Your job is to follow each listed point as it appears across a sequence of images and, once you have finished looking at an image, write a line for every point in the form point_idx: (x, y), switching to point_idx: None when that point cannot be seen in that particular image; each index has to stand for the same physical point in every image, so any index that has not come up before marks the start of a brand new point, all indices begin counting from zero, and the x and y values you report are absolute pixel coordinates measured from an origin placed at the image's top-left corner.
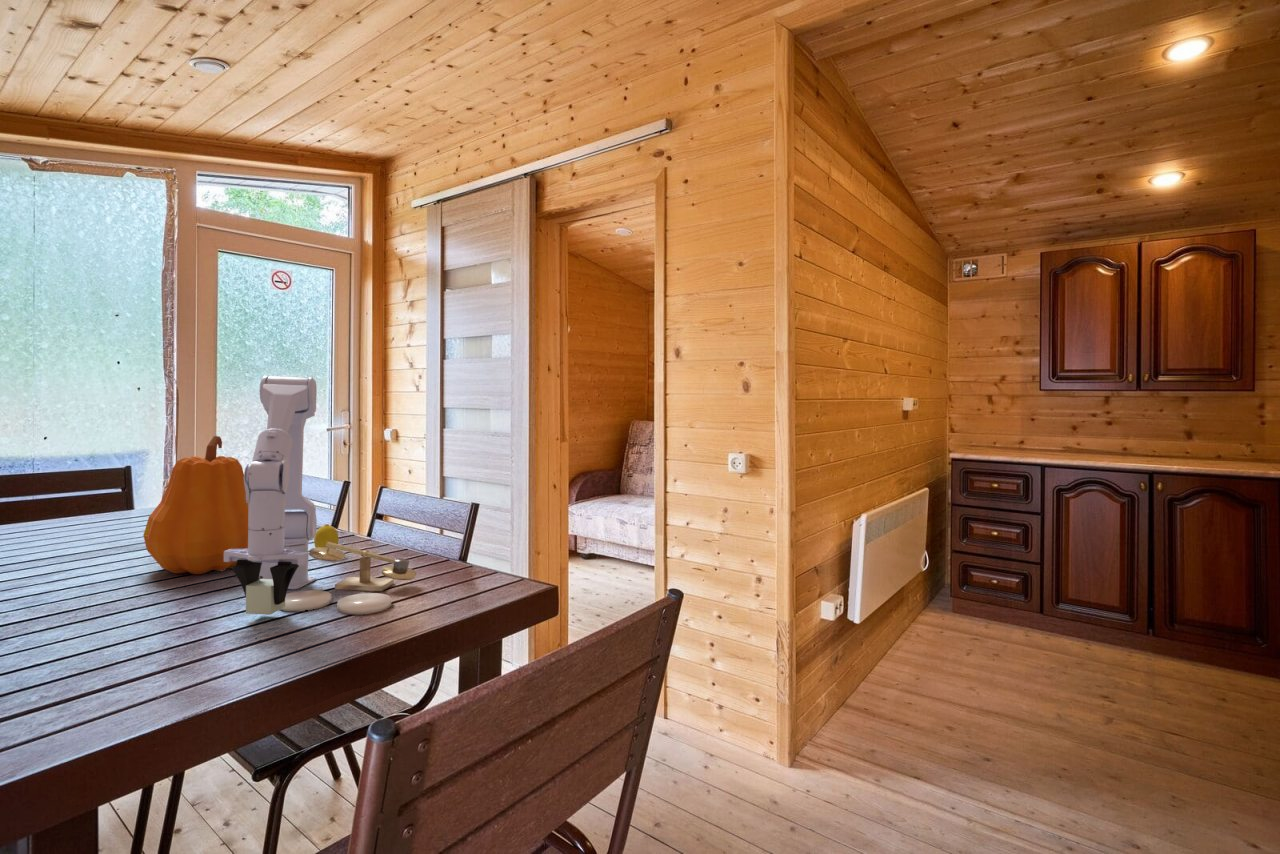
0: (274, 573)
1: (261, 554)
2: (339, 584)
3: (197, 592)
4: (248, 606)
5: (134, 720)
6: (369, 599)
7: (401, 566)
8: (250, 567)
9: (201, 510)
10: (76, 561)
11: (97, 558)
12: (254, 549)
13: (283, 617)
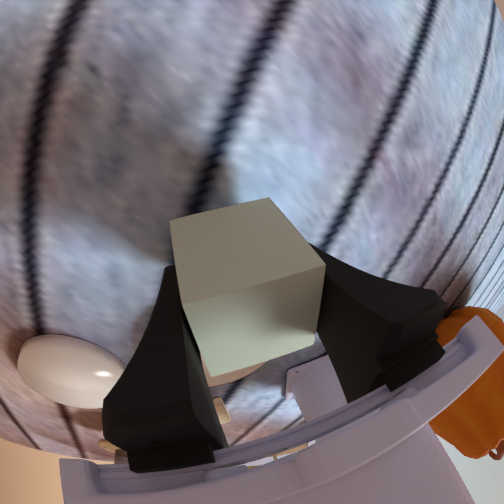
0: (165, 383)
1: (320, 495)
2: (215, 407)
3: (429, 284)
4: (269, 212)
5: None
6: (69, 388)
7: (116, 461)
8: (369, 358)
9: (486, 388)
10: (501, 283)
11: (492, 295)
12: (402, 494)
13: (173, 260)
